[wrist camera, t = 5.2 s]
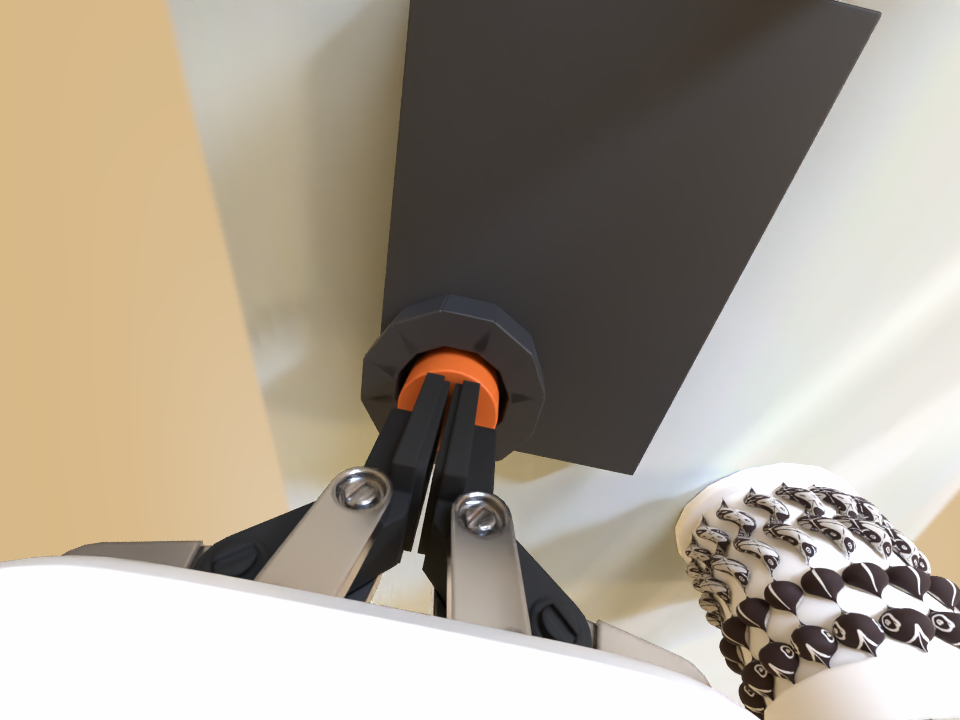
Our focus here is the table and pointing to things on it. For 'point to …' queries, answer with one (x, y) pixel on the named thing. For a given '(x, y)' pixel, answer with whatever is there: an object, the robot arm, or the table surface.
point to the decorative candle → (821, 600)
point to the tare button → (455, 370)
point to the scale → (592, 196)
